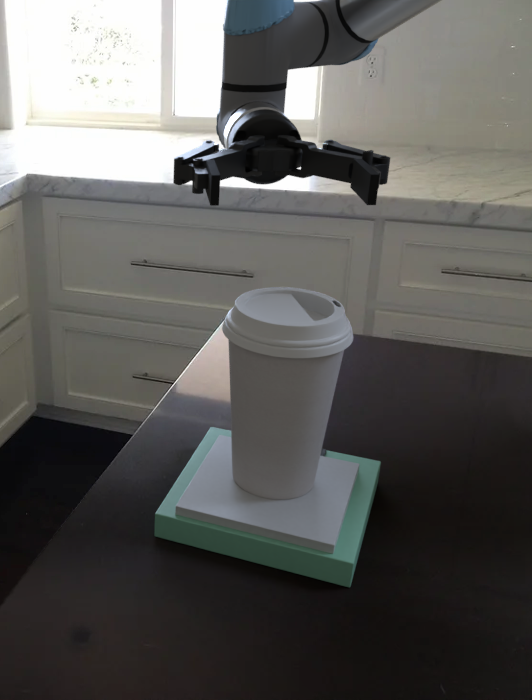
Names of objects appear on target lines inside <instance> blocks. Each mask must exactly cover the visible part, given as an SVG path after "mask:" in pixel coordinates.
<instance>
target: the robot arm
mask: <svg viewBox="0 0 532 700" xmlns="http://www.w3.org/2000/svg"><path fill="white" fill-rule="evenodd" d="M442 1H443V0H310V1H295V0H226V5H225V11H224V20H223V21H224V22H223V24H222V30H223V45H222V47H223V50H222V75H221V87H220V99H219V100H220V102H219V109H218V112H217V114H216V126H215V131H216V135H217V136H218V140H219V142H220V144H221V145H222V147H223V148H220V144H219V143H215V141H214V140H211V139H206V140H204V141H202V144H201V145H199V146H198V147H195V148H192V149H191V150H188V151H186V152H184V153H182V154H180V155H177V156H175V157H173V179H172V180H173V181H172V182H173V184H174V185H176V186H182V185H186V184H188V183H189V182H192V183H191V184H192V186H191V193H192V194H194V195H203V194H204V190H205V193H206V197H207V200H208V203H209V206H211V207H212V206H213V207H214V206H220V190H221V181H223V180H227V179H230V178H237V179H244V180H245V181H246V182H247V181H248V182H249V183H252V184H256V185H271V184H275V183H278V182H280V181H282V180H284V179H285V178H286V177H288V176H290V177H293V178H299V179H306V178H311V177H313V176H314V177H317V178H323V179H327V180H328V179H329V180H333V181H337V182H341V183H342V182H343V183H346V184H350V185H349V186H350V190H352V191H353V192H354V193H355V195H357V196H358V197H359V198H360V200H361V201H362V202H364V204H365V205H366V206H376V205H377V201H378V192H379V188H380V186H383V185H386V184H388V179H389V173H390V163H391V157H390V156H387V155H385V154H380V153H376V152H375V151H374V150H373V149H369V150H365V149H360V148H357V147H354V146H353V147H352V146H349V145H346V144H342V143H340V142H338V141H337V140H333V139H327V140H324V141H323V143H322V147H319V148H318V146H317V144H316V143H315V142H313V141H307V140H303V139H302V137H301V134H300V132H299V130H298V128H297V127H296V125H295V124H294V123H293V121H291V120H290V119H289V118H288V116H287V115H285V105H286V92H287V88H288V86H287V85H288V75H289V70H296V69H307V68H315V67H324V66H325V67H326V66H342V65H347V64H349V63H352V62H355V61H360V60H362V59H364V58H366V57H367V56H368V55H369V54H370V53H372V51H373V50H374V48H375V46H376V44H377V43H378V41H379V40H380V38H382V37H384V36H385V35H387V34H388V33H390V32H392V31H393V30H395V29H396V28H399V27H400V26H402V25H403V24H405V23H407V22H409V21H410V20H412V19H413V18H415V17H417V16H418V15H420V14H422V13H423V12H425V11H426V10H429V9H430V8H431V7H433V6H435V5H437V4H438V3H441V2H442ZM299 168H300V169H299Z"/></svg>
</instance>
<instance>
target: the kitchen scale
mask: <svg viewBox="0 0 532 700" xmlns="http://www.w3.org/2000/svg"><path fill="white" fill-rule="evenodd" d="M381 466H382V462H381V460H376V459H371V458H367V457H361V456H356V455H351V454H346V453H341V452H337V451H331V450H328V449H327V448H322V450H321V454H320V459H319V463H318V468H317V472H316V477H315V481H314V485H313V488H312V489H311V490H310V491H309V492H308V493H307V494H305V495H303V496H300V497H297V498H293V499H286V500H275V499H267V498H262V497H259V496H256V495H253V494H251V493H249V492H247V491H245V490H243V489H242V488H241V487H239V486H238V485H237V483H236V482H235V481H234V479H233V475H232V441H231V429H224V428H220V427H215V426H210V427H209V429H208V431H207V432H206V433H205V435H204V437H203V438H202V440H201V441H200V443H199V445H198V446H197V448H196V449H195V450H194V452H193V454H192V455H191V457H190V459H188V462H187V463H186V465H185V467H184V468H183V469H182V471H181V472H180V474H179V476H178V477H177V479H176V480H175V482H174V483H173V485H172V486H171V488H170V490H169V491H168V493H167V494H166V496H165V497H164V498H163V501H162V502H161V504H160V505H159V507H158V508H157V510H156V512H155V513H154V533H153V534H154V537H155V538H159V539H163V540H167V541H171V542H174V543H179V544H182V545H185V546H190V547H194V548H198V549H201V550H205V551H209V552H212V553H215V554H216V553H217V554H220V555H224V556H227V557H231V558H236V559H240V560H243V561H247V562H250V563H255V564H258V565H262V566H266V567H269V568H274V569H278V570H281V571H284V572H288V573H292V574H296V575H301V576H304V577H307V578H312V579H315V580H319V581H323V582H327V583H331V584H334V585H338V586H342V587H346V588H351V586H352V584H353V583H352V582H353V579H354V574H355V572H356V567H357V563H358V560H359V557H360V552H361V548H362V544H363V541H364V537H365V533H366V529H367V525H368V523H369V518H370V514H371V512H372V511H371V510H372V507H373V503H374V499H375V495H376V492H377V487H378V484H379V477H380V472H381Z"/></svg>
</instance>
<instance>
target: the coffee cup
mask: <svg viewBox="0 0 532 700" xmlns="http://www.w3.org/2000/svg"><path fill="white" fill-rule="evenodd" d="M346 315H347V314H346V309H345V307H344V305H343V304H342V303H341V302H340V301H339V300H338V299H336V298H335V297H332V296H330V295H328V294H325V293H323V292H320V291H315V290H312V289H307V288H300V287H292V286H291V287H288V286H271V287H270V286H269V287H260V288H255V289H251V290H249V291H246V292H243V293H242V294H240V295H239V296H238V297H237V298H236V299H235V301H234V304H233V307H232V308H231V309H230V310H229V311H228V312H227V313H226V316H225V317H224V320H223V323H222V326H221V331H222V333H223V335H224V336H225V338H226V339H227V341H228V363H229V397H230V399H229V400H230V401H229V402H230V431H231V441H232V475H233V479H234V481H235V482H236V483H237V485H238V486H239V487H241V488H242V489H243V490H245V491H247V492H249V493H251V494H253V495H256V496H259V497H262V498H267V499H275V500H286V499H293V498H297V497H300V496H303V495H305V494H307V493H308V492H309V491H310V490H311V489H312V488H313V485H314V481H315V477H316V472H317V468H318V463H319V459H320V454H321V450H322V449H323V445H324V440H325V437H326V432H327V428H328V423H329V418H330V413H331V409H332V405H333V400H334V396H335V391H336V388H337V383H338V379H339V374H340V369H341V365H342V361H343V357H344V353H345V350H346V349H348V348H349V347H350V346H351V345H352V344H353V342H354V333H353V327H352V325H351V321H350V320H349V318H348V317H347V316H346Z"/></svg>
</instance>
